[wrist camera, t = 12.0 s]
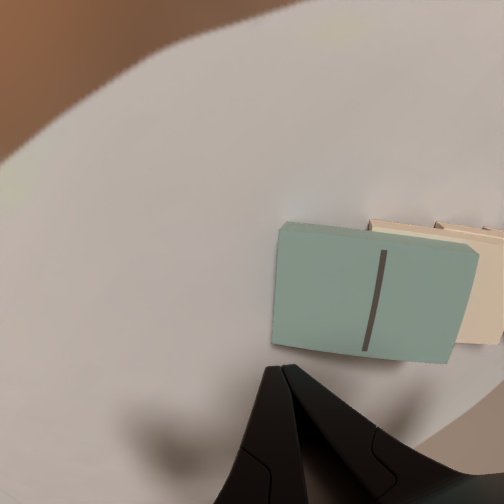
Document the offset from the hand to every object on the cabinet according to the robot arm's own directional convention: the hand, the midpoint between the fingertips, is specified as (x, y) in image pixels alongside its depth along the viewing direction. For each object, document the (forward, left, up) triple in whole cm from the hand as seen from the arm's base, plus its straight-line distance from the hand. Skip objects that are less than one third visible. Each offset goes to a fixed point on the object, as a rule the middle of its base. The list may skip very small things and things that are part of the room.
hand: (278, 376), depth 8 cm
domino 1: (-1, -1, -5) cm, 5 cm away
